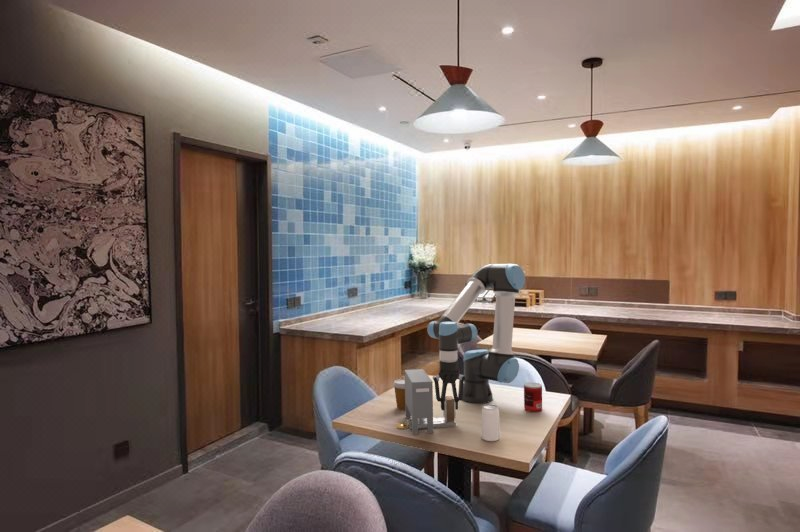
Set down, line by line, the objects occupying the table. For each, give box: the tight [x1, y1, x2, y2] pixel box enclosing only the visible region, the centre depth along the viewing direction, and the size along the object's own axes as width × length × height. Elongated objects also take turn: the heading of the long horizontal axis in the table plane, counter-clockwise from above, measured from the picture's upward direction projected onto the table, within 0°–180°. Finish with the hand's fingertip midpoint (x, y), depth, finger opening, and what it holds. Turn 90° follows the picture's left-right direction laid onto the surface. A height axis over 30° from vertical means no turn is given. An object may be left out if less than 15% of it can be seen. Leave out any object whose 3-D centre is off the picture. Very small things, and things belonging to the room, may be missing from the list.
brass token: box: [395, 421, 409, 430], centre depth 194 cm, size 5×5×1 cm
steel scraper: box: [406, 395, 457, 430], centre depth 196 cm, size 19×7×10 cm, turn 97°
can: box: [481, 403, 500, 442], centre depth 180 cm, size 6×6×12 cm
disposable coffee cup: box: [392, 378, 405, 411], centre depth 218 cm, size 10×10×12 cm
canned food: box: [523, 381, 543, 413], centre depth 213 cm, size 8×8×11 cm
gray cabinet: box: [404, 368, 434, 435], centre depth 196 cm, size 8×22×20 cm, turn 7°
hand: (449, 417), depth 196 cm, fingers closed on steel scraper, 3 cm apart
